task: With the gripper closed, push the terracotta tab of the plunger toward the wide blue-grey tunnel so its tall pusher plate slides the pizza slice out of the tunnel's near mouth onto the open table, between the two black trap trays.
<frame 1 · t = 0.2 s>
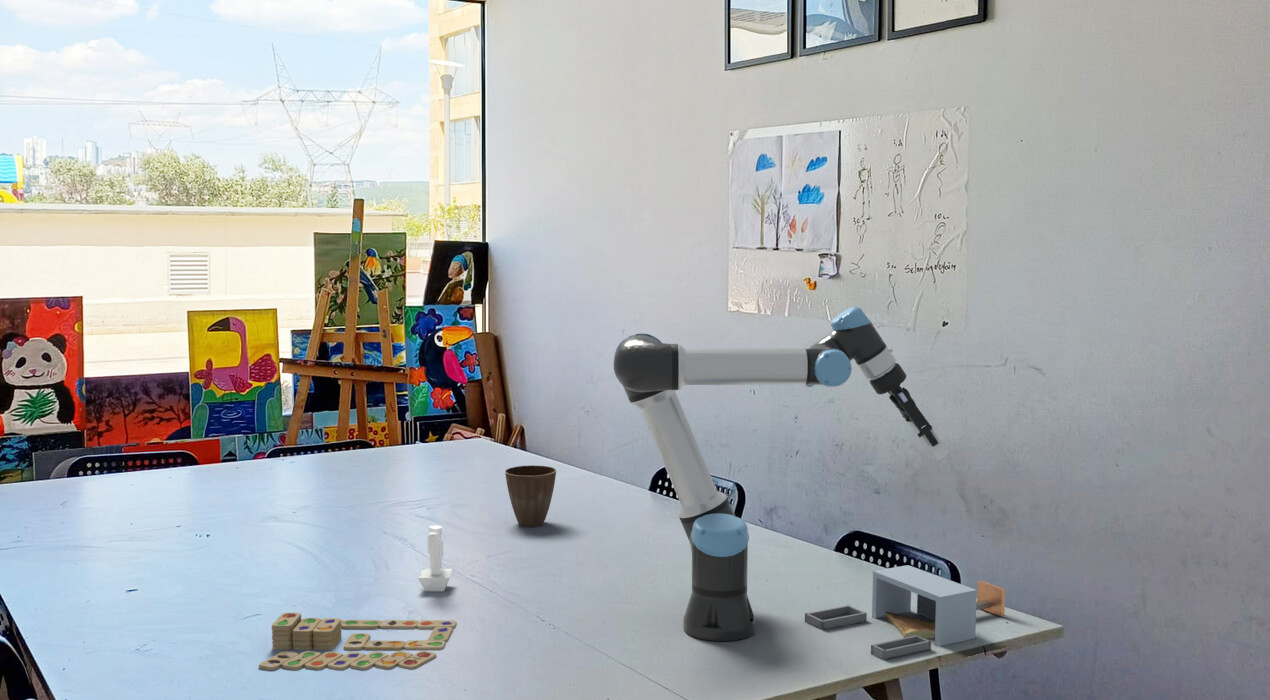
hand: (936, 450, 239), 36 cm above the table, tool tilted 35°, fingers open, 13 cm apart
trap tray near: (900, 651, 217), on the table
tunnel: (922, 627, 231), on the table
pile of dominoes: (361, 648, 220), on the table
figurine: (436, 589, 257), on the table
plant pot: (530, 524, 319), on the table
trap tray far: (835, 621, 235), on the table
plunger: (966, 603, 237), point 3 cm above the table, slide at 0.0 cm
pizza slice: (907, 633, 229), on the table
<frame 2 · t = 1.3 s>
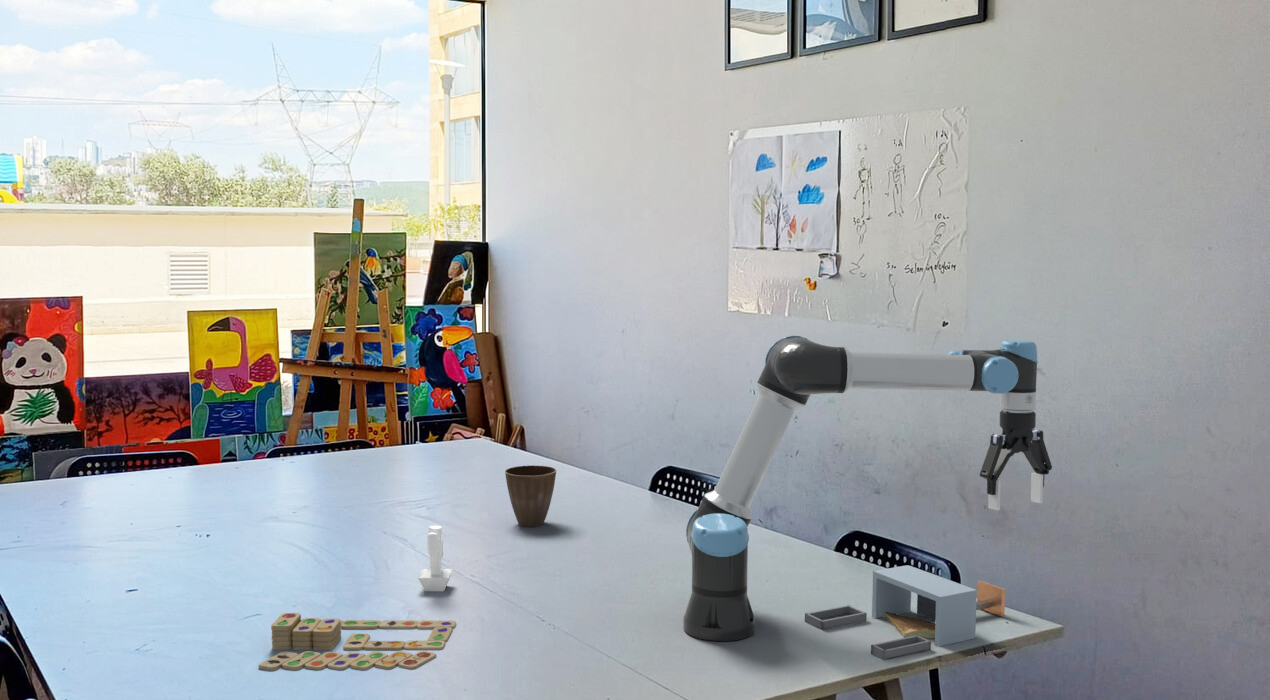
hand: (1015, 505, 242), 23 cm above the table, tool pointing down, fingers open, 12 cm apart
nothing on the table moved.
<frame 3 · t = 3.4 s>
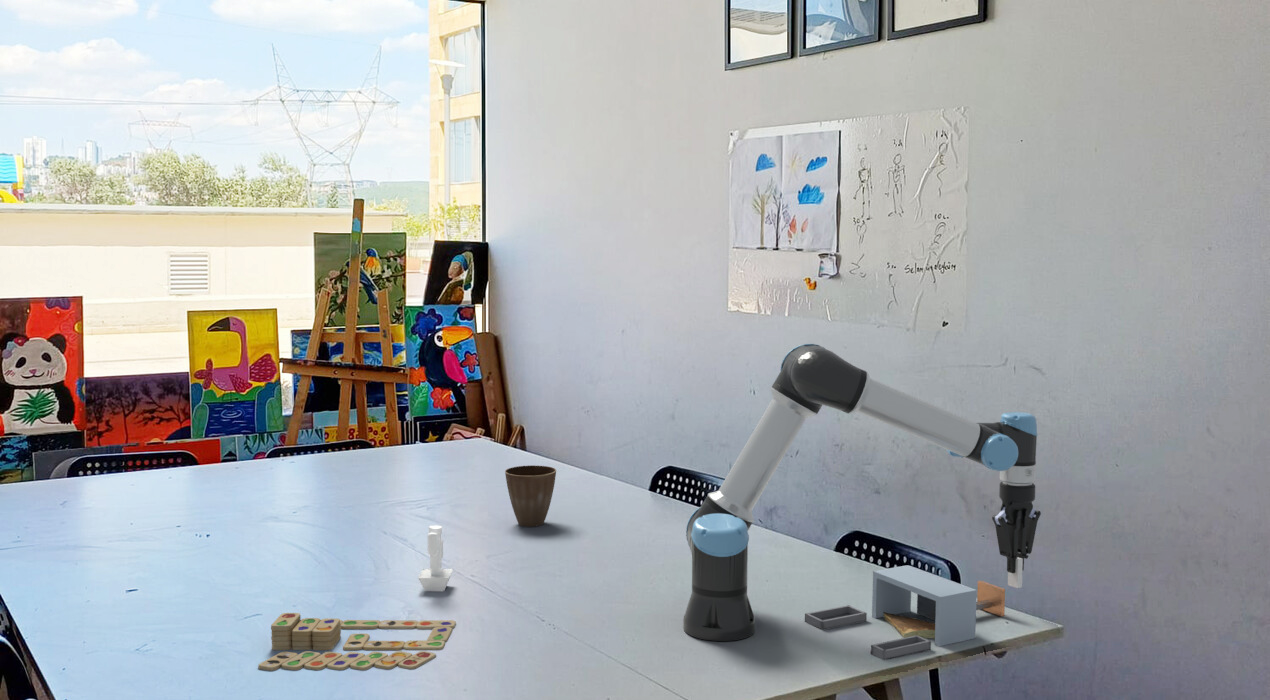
hand: (1014, 586, 243), 5 cm above the table, tool pointing down, fingers closed
nothing on the table moved.
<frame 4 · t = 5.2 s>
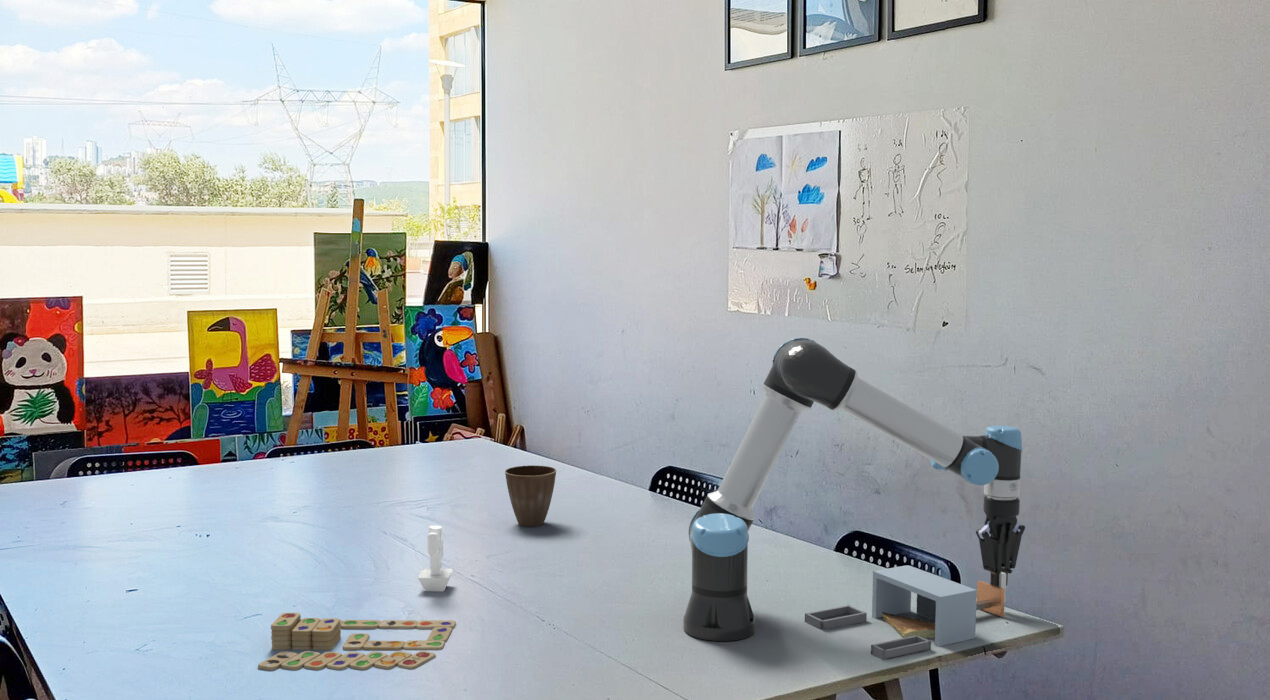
hand: (998, 600, 242), 2 cm above the table, tool pointing down, fingers closed
plunger: (966, 603, 237), point 3 cm above the table, slide at 0.1 cm, touching gripper
everything else where it was.
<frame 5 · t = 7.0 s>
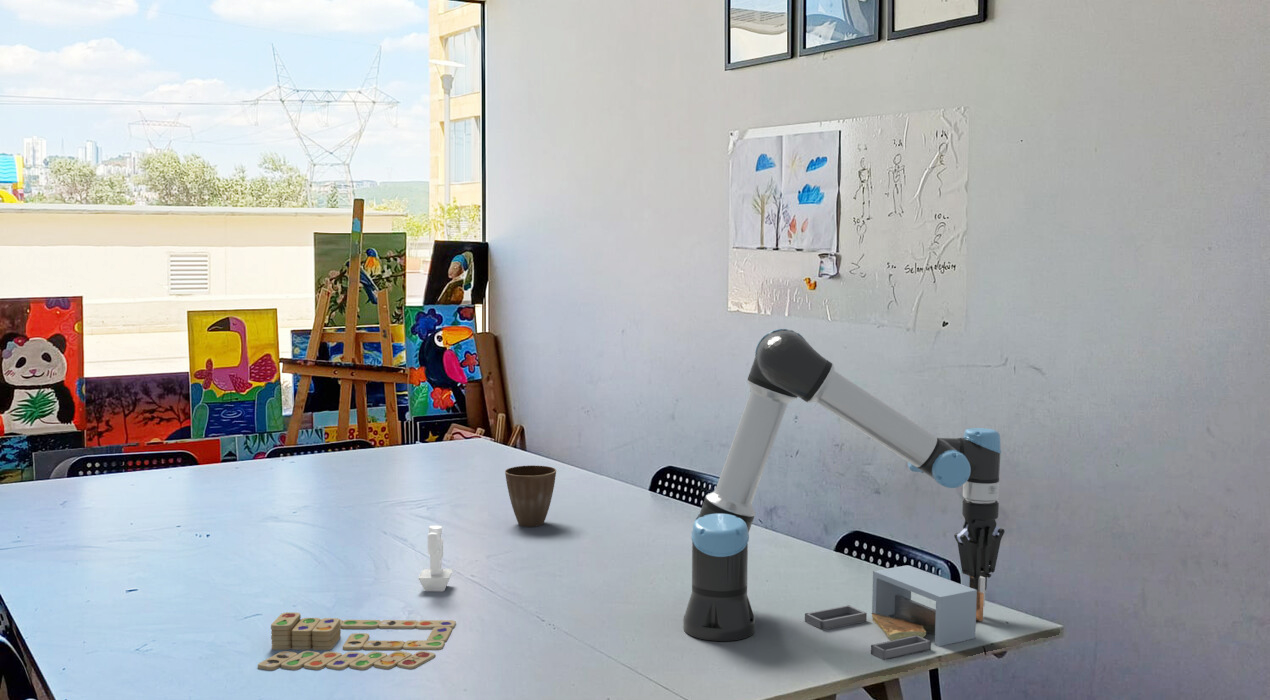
hand: (977, 605, 239), 2 cm above the table, tool pointing down, fingers closed
plunger: (944, 607, 234), point 3 cm above the table, slide at 6.4 cm, touching pizza slice, gripper
pizza slice: (892, 634, 228), on the table, touching plunger
everything else where it was.
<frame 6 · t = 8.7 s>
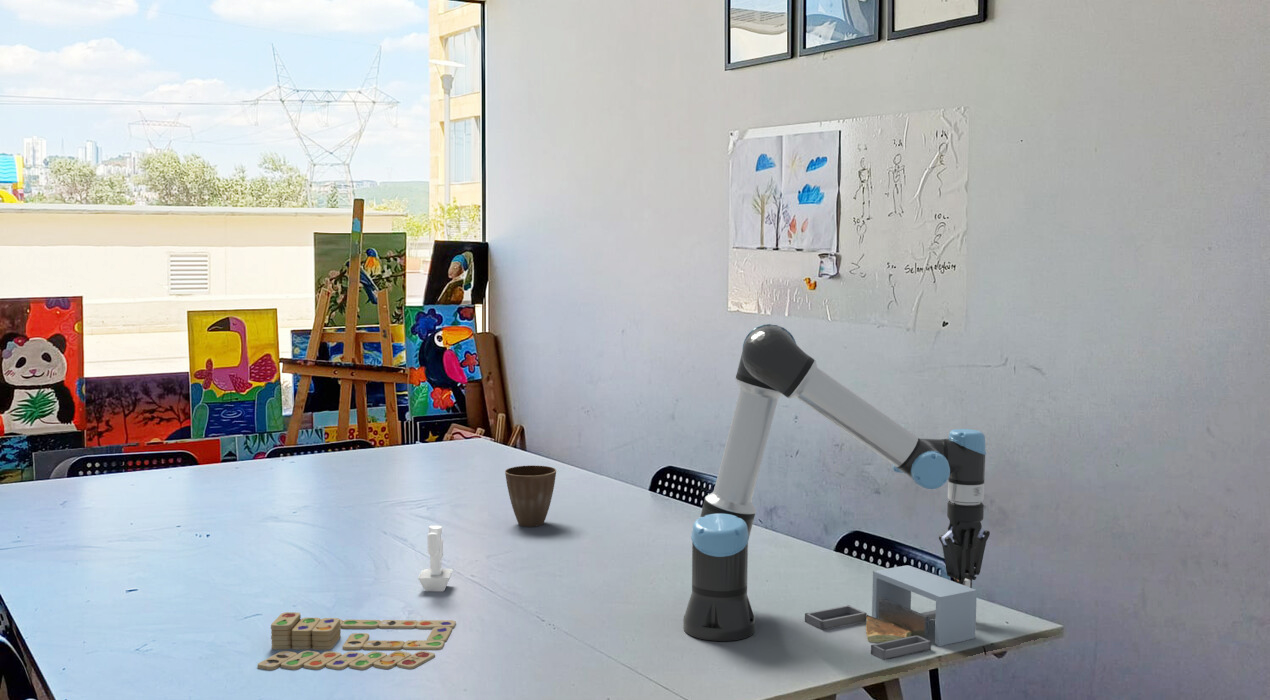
hand: (962, 607, 236), 2 cm above the table, tool pointing down, fingers closed
plunger: (929, 611, 232), point 3 cm above the table, slide at 10.9 cm, touching gripper
pizza slice: (877, 637, 227), on the table
everything else where it was.
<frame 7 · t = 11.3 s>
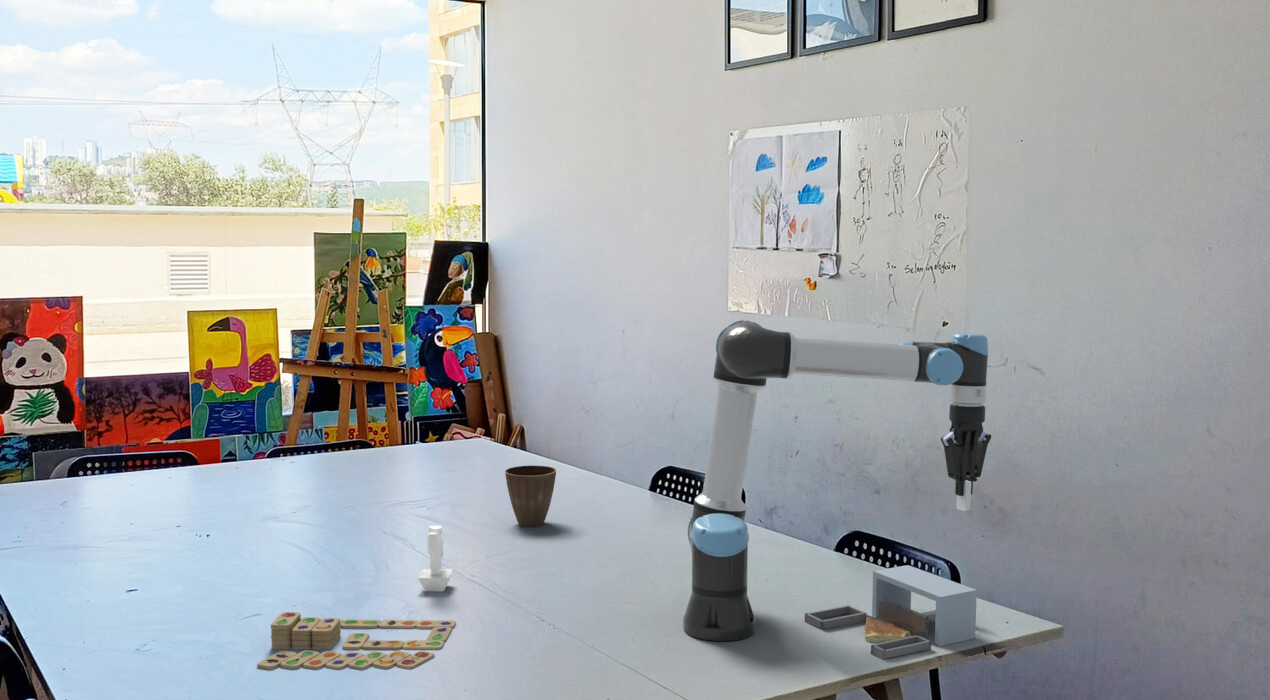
hand: (963, 509, 240), 23 cm above the table, tool pointing down, fingers closed
plunger: (929, 611, 232), point 3 cm above the table, slide at 10.9 cm
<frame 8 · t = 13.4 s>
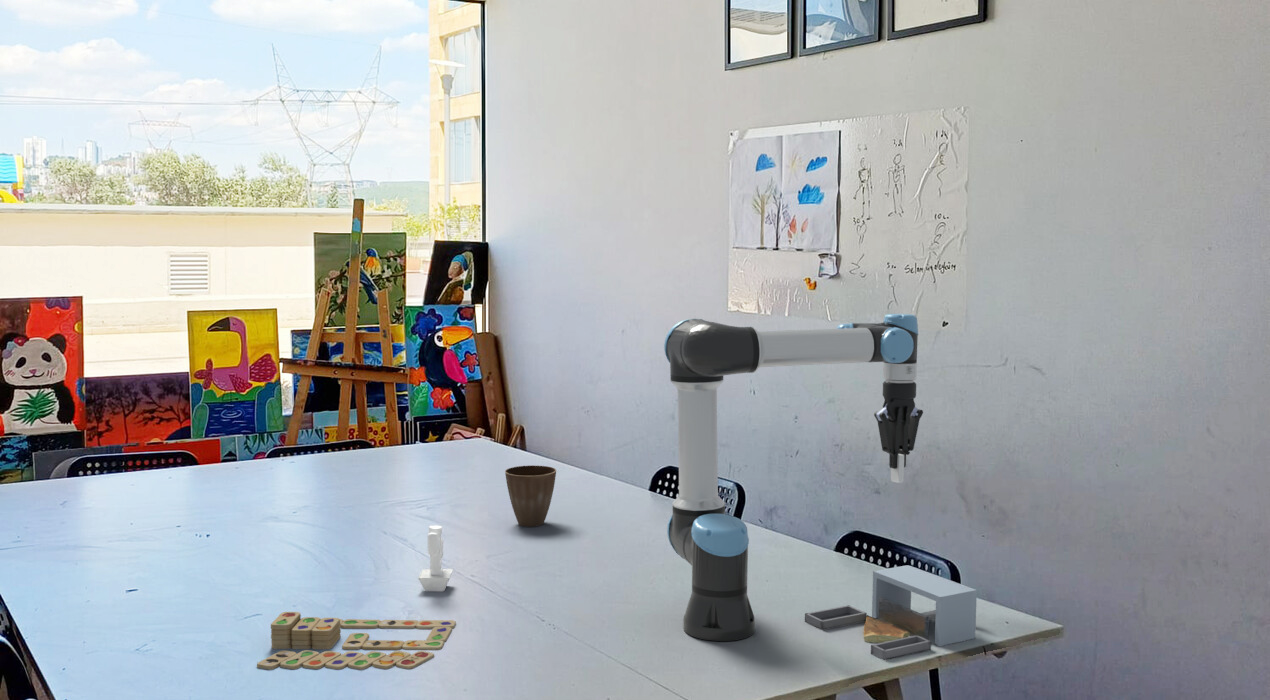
hand: (897, 481, 252), 26 cm above the table, tool pointing down, fingers closed
nothing on the table moved.
at the end: pizza slice inside the target area (3.9 cm from its centre), on the table; plunger slide at 10.9 cm; pizza slice tilted 0° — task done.
